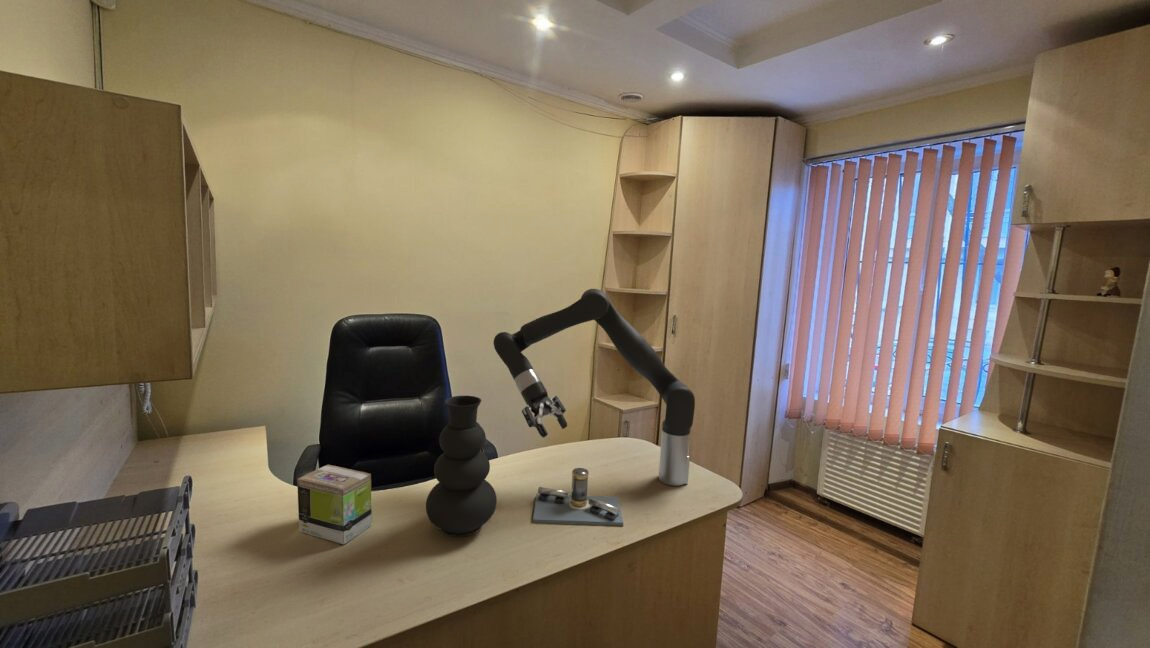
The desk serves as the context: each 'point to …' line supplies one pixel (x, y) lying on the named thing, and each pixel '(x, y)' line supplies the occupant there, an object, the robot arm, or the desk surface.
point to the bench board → (574, 512)
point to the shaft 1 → (552, 494)
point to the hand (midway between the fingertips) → (555, 431)
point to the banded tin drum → (579, 487)
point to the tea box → (334, 503)
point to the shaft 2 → (599, 506)
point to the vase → (461, 473)
